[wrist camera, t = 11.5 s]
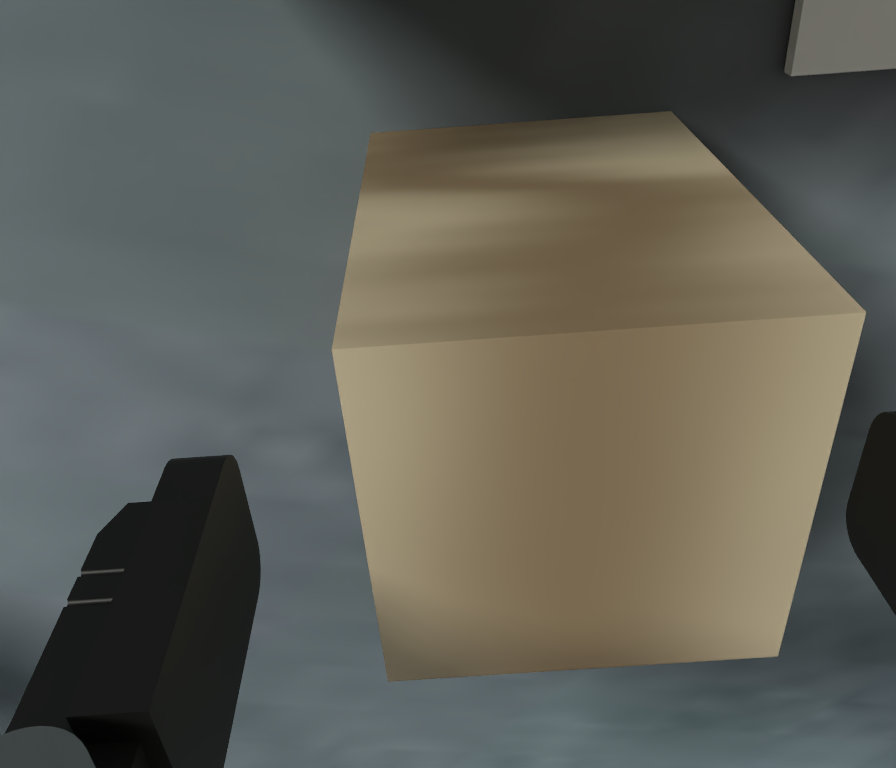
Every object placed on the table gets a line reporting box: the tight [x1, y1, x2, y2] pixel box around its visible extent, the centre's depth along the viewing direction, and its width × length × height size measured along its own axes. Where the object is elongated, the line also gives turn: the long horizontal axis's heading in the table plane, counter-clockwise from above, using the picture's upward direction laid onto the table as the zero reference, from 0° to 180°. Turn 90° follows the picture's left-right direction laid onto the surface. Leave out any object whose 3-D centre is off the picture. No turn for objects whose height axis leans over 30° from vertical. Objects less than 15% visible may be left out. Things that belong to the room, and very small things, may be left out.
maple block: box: [332, 111, 866, 682], centre depth 12 cm, size 5×5×7 cm
